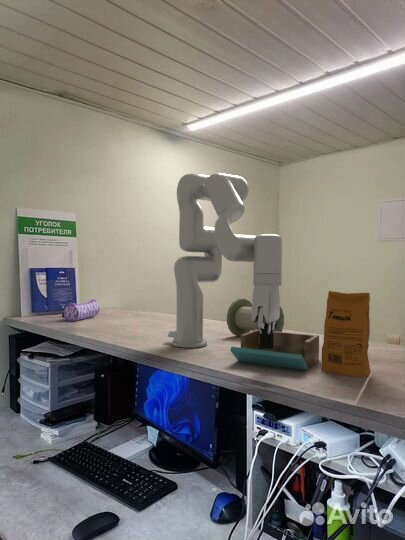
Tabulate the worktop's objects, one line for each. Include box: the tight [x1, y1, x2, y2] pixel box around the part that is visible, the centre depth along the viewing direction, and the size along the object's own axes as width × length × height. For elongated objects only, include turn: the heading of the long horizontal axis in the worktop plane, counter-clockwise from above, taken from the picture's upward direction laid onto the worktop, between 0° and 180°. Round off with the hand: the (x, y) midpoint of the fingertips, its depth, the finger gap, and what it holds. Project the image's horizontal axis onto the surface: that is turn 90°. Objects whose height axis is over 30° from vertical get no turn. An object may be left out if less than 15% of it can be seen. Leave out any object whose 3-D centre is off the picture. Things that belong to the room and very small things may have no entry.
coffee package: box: [321, 290, 371, 378], centre depth 107 cm, size 10×12×22 cm
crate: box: [240, 330, 320, 370], centre depth 119 cm, size 20×12×8 cm, turn 61°
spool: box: [226, 298, 285, 337], centre depth 158 cm, size 16×15×15 cm
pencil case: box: [63, 299, 100, 322], centre depth 207 cm, size 22×9×10 cm, turn 165°
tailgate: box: [230, 346, 309, 371], centre depth 110 cm, size 20×1×8 cm
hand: (266, 348), depth 109 cm, fingers closed
